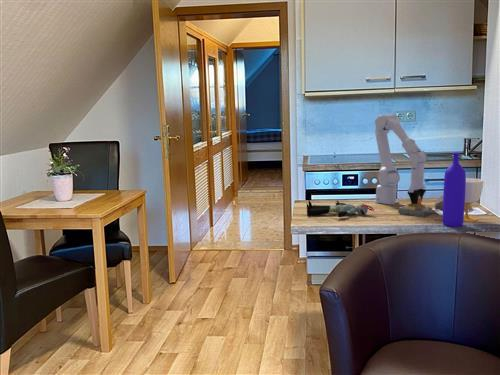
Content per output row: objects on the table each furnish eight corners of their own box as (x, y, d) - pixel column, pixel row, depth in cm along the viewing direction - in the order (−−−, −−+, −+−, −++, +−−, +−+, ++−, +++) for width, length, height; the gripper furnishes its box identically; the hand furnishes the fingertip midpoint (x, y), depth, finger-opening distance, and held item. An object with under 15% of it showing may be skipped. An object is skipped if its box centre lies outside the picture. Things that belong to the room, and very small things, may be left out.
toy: (310, 195, 250) (373, 193, 244) (311, 210, 251) (373, 208, 245) (304, 206, 226) (374, 204, 219) (305, 223, 227) (375, 221, 220)
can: (409, 208, 244) (410, 196, 243) (413, 206, 248) (414, 194, 246) (418, 209, 241) (419, 197, 240) (422, 207, 245) (422, 195, 244)
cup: (455, 222, 216) (457, 182, 213) (448, 215, 228) (450, 177, 225) (484, 222, 215) (487, 182, 212) (476, 216, 226) (478, 177, 223)
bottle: (456, 228, 206) (459, 154, 201) (437, 224, 212) (440, 152, 207) (467, 225, 211) (471, 152, 205) (449, 221, 217) (452, 151, 212)
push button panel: (398, 213, 234) (398, 205, 233) (406, 209, 241) (406, 202, 240) (424, 216, 226) (424, 208, 226) (431, 213, 233) (432, 205, 233)
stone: (472, 221, 241) (470, 203, 246) (475, 209, 233) (473, 191, 238) (433, 219, 245) (433, 202, 250) (436, 208, 237) (435, 190, 242)
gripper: (419, 179, 234) (418, 208, 236) (431, 175, 245) (430, 203, 247) (404, 178, 238) (403, 207, 241) (417, 174, 249) (416, 201, 252)
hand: (416, 205), depth 244 cm, fingers closed on can, 4 cm apart
